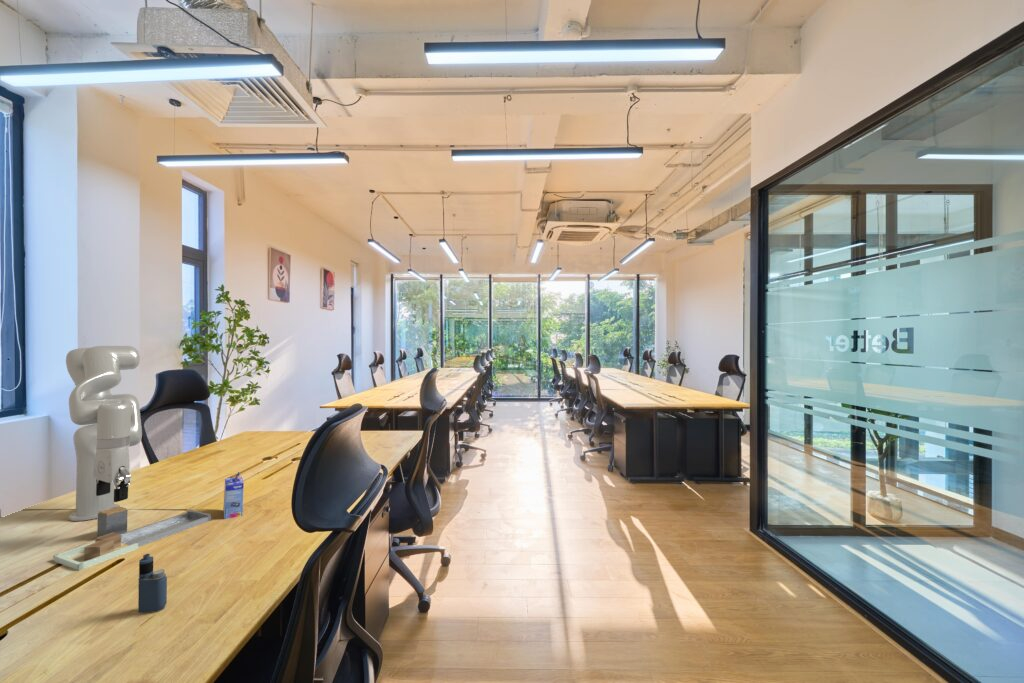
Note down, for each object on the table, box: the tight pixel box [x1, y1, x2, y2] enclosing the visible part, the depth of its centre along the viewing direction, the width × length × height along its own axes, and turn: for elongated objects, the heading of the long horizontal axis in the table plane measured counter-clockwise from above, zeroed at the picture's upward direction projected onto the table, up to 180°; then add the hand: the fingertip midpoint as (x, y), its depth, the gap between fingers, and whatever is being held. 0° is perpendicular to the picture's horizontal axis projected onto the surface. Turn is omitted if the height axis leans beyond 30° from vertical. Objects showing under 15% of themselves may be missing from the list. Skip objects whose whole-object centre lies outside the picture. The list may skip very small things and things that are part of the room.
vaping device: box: [137, 553, 168, 614], centre depth 90 cm, size 3×5×12 cm, turn 95°
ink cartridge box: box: [222, 471, 245, 520], centre depth 142 cm, size 10×6×14 cm, turn 37°
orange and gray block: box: [96, 506, 128, 538], centre depth 125 cm, size 5×5×8 cm
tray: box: [52, 541, 139, 571], centre depth 113 cm, size 13×12×2 cm
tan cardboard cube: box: [94, 532, 122, 550], centre depth 116 cm, size 4×4×4 cm
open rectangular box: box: [121, 509, 212, 548], centre depth 128 cm, size 11×20×3 cm, turn 158°
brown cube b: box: [83, 540, 115, 561], centre depth 112 cm, size 4×4×4 cm
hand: (111, 497), depth 126 cm, fingers open, 9 cm apart
